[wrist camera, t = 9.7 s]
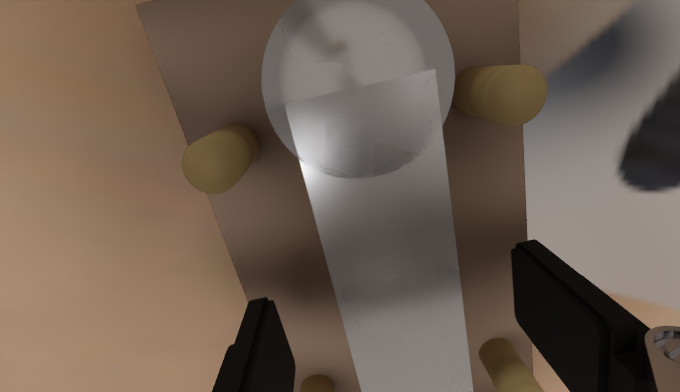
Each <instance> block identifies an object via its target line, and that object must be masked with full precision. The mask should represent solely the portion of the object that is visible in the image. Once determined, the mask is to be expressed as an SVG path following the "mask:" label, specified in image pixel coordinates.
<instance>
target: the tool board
mask: <svg viewBox="0 0 680 392" xmlns="http://www.w3.org/2000/svg"><path fill="white" fill-rule="evenodd" d="M294 1H296V0H153V1H149V2H145V3H141V4H137V5H135V6H136V9H137V11H138V14H139V17H140V19H141V22H142V24H143V27H144V30H145V32H146V35H147V38H148V40H149V43H150V45H151V48H152V51H153V53H154V56H155V59H156V61H157V64H158V67H159V69H160V72H161V74H162V77H163V80H164V82H165V85H166V88H167V90H168V93H169V95H170V98H171V101H172V103H173V106H174V109H175V111H176V114H177V116H178V119H179V122H180V124H181V127H182V130H183V132H184V135H185V137H186V140H187V143H188V145H189V146H188V148H187V149H186V150H185V152H184V155H183V158H182V168H183V172H184V175H185V177H186V178H187V180H188V181H189V182H190V184H192V185H193V186H194V187H195V188H196V189H198V190H200V191H202V192H205V193H207V195H208V198H209V201H210V203H211V206H212V208H213V211H214V214H215V216H216V219H217V222H218V224H219V227H220V230H221V232H222V235H223V237H224V240H225V243H226V245H227V248H228V251H229V253H230V256H231V258H232V261H233V264H234V266H235V269H236V272H237V274H238V277H239V279H240V282H241V285H242V287H243V290H244V293H245V295H246V298H247V300H248V303H249V301H250V300H254V299H258V298H263V297H267V298H268V300H269V301H270V300H273V301H274V303H275V305H276V308H277V311H278V314H279V317H280V320H281V322H282V325H283V328H284V331H285V334H286V337H287V340H288V342H289V345H290V348H291V351H292V354H293V357H294V360H295V366H296V371H295V381H294V391H293V392H361V388H360V384H359V381H358V377H357V373H356V369H355V366H354V362H353V358H352V355H351V351H350V347H349V343H348V340H347V336H346V332H345V329H344V325H343V321H342V317H341V314H340V310H339V306H338V303H337V299H336V295H335V292H334V288H333V284H332V280H331V277H330V273H329V269H328V266H327V262H326V258H325V254H324V251H323V247H322V243H321V240H320V236H319V232H318V228H317V225H316V221H315V217H314V214H313V210H312V206H311V203H310V199H309V195H308V191H307V188H306V184H305V180H304V177H303V173H302V169H301V165H300V162H299V159H298V158H297V157H296V156H295V155H294V154H293V153H292V152H290V150H289V149H288V148H287V147H286V146H285V145H284V144H283V142H282V141H281V139H280V138H279V136H278V135H277V134H276V132H275V130H274V128H273V126H272V124H271V122H270V120H269V117H268V114H267V111H266V109H265V104H264V100H263V95H262V84H261V77H262V64H263V58H264V53H265V50H266V46H267V43H268V40H269V38H270V36H271V33H272V31H273V29H274V27H275V26H276V24H277V22H278V21H279V19H280V17H281V16H282V15H283V14H284V12H285V11H286V10H287V9H288V7H289V6H290V5H291V4H292V3H293V2H294ZM424 1H425V2H426V3H427V4H428V5H429V7H430V8H431V9H432V10H433V11H434V13H435V14H436V15H437V17H438V19H439V20H440V22H441V23H442V25H443V27H444V29H445V32H446V34H447V36H448V38H449V42H450V45H451V48H452V52H453V58H454V65H455V83H454V93H453V97H452V102H451V106H450V109H449V112H448V115H447V117H446V119H445V121H444V123H443V125H442V130H443V139H444V147H445V156H446V164H447V172H448V181H449V189H450V198H451V206H452V215H453V223H454V231H455V240H456V248H457V257H458V265H459V274H460V282H461V290H462V299H463V307H464V316H465V324H466V332H467V341H468V349H469V358H470V366H471V375H472V383H473V391H474V392H544V391H543V389H542V388H541V386H540V385H539V384H538V382H537V381H536V379H535V378H534V376H533V363H532V341H531V340H530V339H529V337H528V336H527V335H526V333H525V332H524V331H523V330H522V328H521V327H520V326H519V324H518V322H517V320H516V317H515V312H514V296H513V279H512V263H511V250H512V249H513V248H515V246H516V244H517V243H520V242H524V241H527V219H526V196H525V195H526V194H525V171H524V148H523V147H524V145H523V124H524V123H527V122H528V121H530V120H531V119H533V118H534V117H535V116H536V115H537V114H538V113H539V112H540V110H541V109H542V107H543V105H544V103H545V100H546V96H547V84H546V80H545V78H544V76H543V74H542V73H541V72H540V71H539V70H538V69H537V68H535V67H533V66H530V65H525V64H521V65H520V49H519V24H518V0H424Z"/></svg>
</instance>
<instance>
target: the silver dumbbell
mask: <svg viewBox="0 0 680 392" xmlns="http://www.w3.org/2000/svg"><path fill="white" fill-rule="evenodd" d="M454 83H455V65H454V58H453V52H452V48H451V45H450V42H449V38H448V36H447V34H446V32H445V29H444V27H443V25H442V23H441V22H440V20H439V19H438V17H437V15H436V14H435V13H434V11H433V10H432V9H431V8H430V7H429V5H428V4H427V3H426V2H425V1H424V0H296V1H294V2H293V3H292V4H291V5H290V6H289V7H288V9H287V10H286V11H285V12H284V14H283V15H282V16H281V17H280V19H279V21H278V22H277V24H276V26H275V27H274V29H273V31H272V33H271V36H270V38H269V40H268V43H267V46H266V50H265V53H264V58H263V64H262V77H261V84H262V95H263V100H264V104H265V109H266V111H267V114H268V117H269V120H270V122H271V124H272V126H273V128H274V130H275V132H276V134H277V135H278V136H279V138H280V139H281V141H282V142H283V144H284V145H285V146H286V147H287V148H288V149H289V150H290V152H292V153H293V154H294V155H295V156H296V157H297V158H298V159H299V162H300V165H301V169H302V173H303V177H304V180H305V184H306V188H307V191H308V195H309V199H310V203H311V206H312V210H313V214H314V217H315V221H316V225H317V228H318V232H319V236H320V240H321V243H322V247H323V251H324V254H325V258H326V262H327V266H328V269H329V273H330V277H331V280H332V284H333V288H334V292H335V295H336V299H337V303H338V306H339V310H340V314H341V317H342V321H343V325H344V329H345V332H346V336H347V340H348V343H349V347H350V351H351V355H352V358H353V362H354V366H355V369H356V373H357V377H358V381H359V384H360V388H361V392H474V391H473V383H472V375H471V366H470V358H469V349H468V341H467V332H466V324H465V316H464V307H463V299H462V290H461V282H460V274H459V265H458V257H457V248H456V240H455V231H454V223H453V215H452V206H451V198H450V189H449V181H448V172H447V164H446V156H445V147H444V139H443V130H442V125H443V123H444V121H445V119H446V117H447V115H448V112H449V109H450V106H451V102H452V97H453V93H454Z"/></svg>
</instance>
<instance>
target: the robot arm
mask: <svg viewBox="0 0 680 392" xmlns="http://www.w3.org/2000/svg"><path fill="white" fill-rule="evenodd" d="M511 263H512V279H513V296H514V312H515V317H516V320H517V322H518V324H519V326H520V327H521V328H522V330H523V331H524V332H525V333H526V335H527V336H528V337H529V339H530V340H531V341H532V343H533V344H534V345H535V346H536V348H537V349H538V350H539V352H540V353H541V354H542V356H543V357H544V358H545V359H546V361H547V362H548V363H549V365H550V366H551V367H552V369H553V370H554V371H555V372H556V374H557V375H558V376H559V378H560V379H561V380H562V382H563V383H564V384H565V385H566V387H567V388H568V389H569V391H570V392H680V327H676V326H660V327H655V328H653V329H650V328H649V327H647V326H646V325H645V324H643V323H642V322H641V321H640V320H638V319H637V318H636V317H635V316H633V315H632V314H631V313H629V312H628V311H627V310H626V309H624V308H623V307H622V306H621V305H619V304H618V303H617V302H615V301H614V300H613V299H612V298H610V297H609V296H608V295H607V294H605V293H604V292H603V291H601V290H600V289H599V288H598V287H596V286H595V285H594V284H592V283H591V282H590V281H589V280H587V279H586V278H585V277H584V276H582V275H580V274H579V273H578V272H576V271H575V270H574V269H573V268H571V267H570V266H569V265H568V264H566V263H565V262H564V261H563V260H561V259H560V258H559V257H557V256H556V255H555V254H554V253H552V252H551V251H550V250H549V249H547V248H546V247H545V246H543V245H542V244H541V243H540V242H538V241H537V240H529V241H524V242H520V243H517V244H516V246H515V248H513V249H512V250H511ZM295 371H296V366H295V360H294V357H293V354H292V351H291V348H290V345H289V342H288V340H287V337H286V334H285V331H284V328H283V325H282V322H281V320H280V317H279V314H278V311H277V308H276V305H275V303H274V301H273V300H270V301H269V300H268V298H267V297H263V298H258V299H254V300H250V301H249V303H248V306H247V308H246V311H245V314H244V317H243V320H242V323H241V326H240V329H239V332H238V335H237V338H236V341H235V343H234V344H233V345H230V346H229V347H228V349H227V351H226V354H225V357H224V360H223V363H222V365H221V368H220V371H219V374H218V376H217V379H216V382H215V385H214V387H213V390H212V392H293V391H294V381H295Z"/></svg>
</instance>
